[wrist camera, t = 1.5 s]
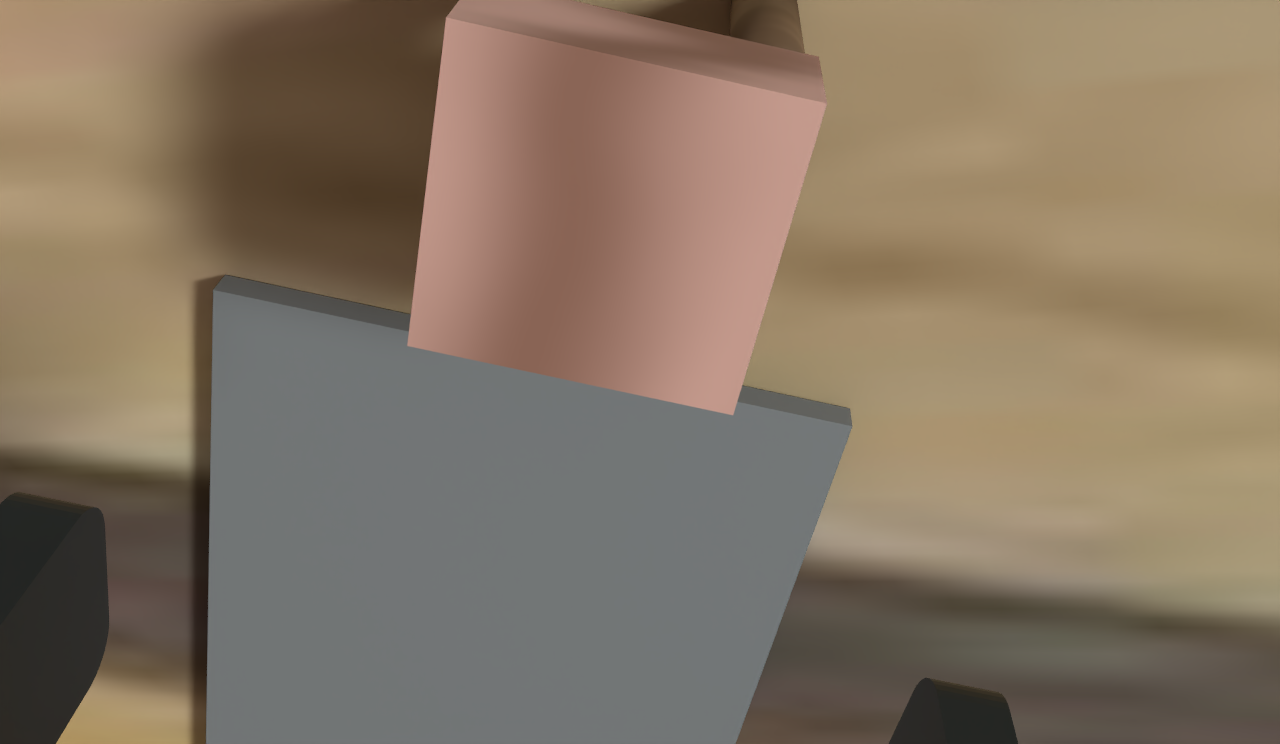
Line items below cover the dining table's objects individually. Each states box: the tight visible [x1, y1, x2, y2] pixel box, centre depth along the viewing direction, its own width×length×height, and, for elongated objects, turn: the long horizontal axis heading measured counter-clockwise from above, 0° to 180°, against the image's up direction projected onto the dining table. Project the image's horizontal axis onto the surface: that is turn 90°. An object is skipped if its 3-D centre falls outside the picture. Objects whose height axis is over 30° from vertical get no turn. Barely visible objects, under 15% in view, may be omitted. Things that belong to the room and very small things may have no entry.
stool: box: [407, 0, 827, 415], centre depth 23 cm, size 6×6×8 cm
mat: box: [206, 275, 852, 744], centre depth 35 cm, size 16×20×1 cm
